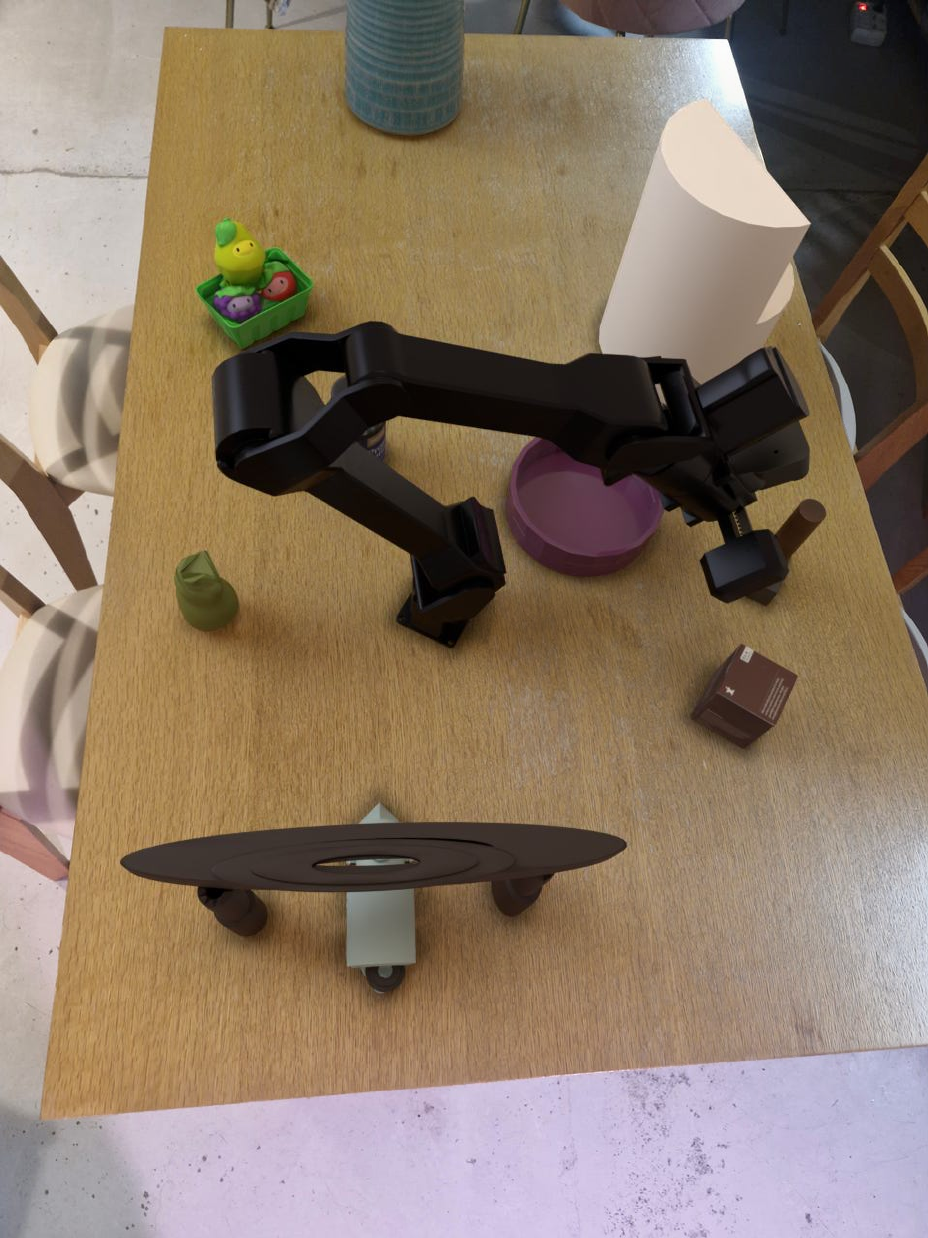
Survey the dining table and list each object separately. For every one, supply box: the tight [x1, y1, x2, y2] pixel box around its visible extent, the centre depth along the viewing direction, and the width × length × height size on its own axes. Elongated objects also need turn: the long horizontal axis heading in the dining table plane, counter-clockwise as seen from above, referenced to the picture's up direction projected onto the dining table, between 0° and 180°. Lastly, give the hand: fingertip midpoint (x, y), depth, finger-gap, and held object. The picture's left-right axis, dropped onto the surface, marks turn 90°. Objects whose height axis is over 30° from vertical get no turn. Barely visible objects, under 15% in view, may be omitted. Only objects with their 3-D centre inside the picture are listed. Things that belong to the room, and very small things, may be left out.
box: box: [690, 643, 799, 750], centre depth 80 cm, size 6×6×7 cm
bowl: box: [504, 437, 666, 578], centre depth 90 cm, size 16×16×4 cm
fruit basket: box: [195, 216, 315, 350], centre depth 95 cm, size 11×9×11 cm
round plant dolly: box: [119, 802, 628, 995], centre depth 64 cm, size 16×21×33 cm
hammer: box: [744, 498, 827, 607], centre depth 85 cm, size 6×4×13 cm, turn 154°
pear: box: [173, 549, 240, 633], centre depth 78 cm, size 6×5×10 cm
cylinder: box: [598, 97, 812, 405], centre depth 92 cm, size 19×19×25 cm
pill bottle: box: [327, 374, 387, 464], centre depth 87 cm, size 6×6×11 cm
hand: (755, 523), depth 79 cm, fingers open, 9 cm apart
